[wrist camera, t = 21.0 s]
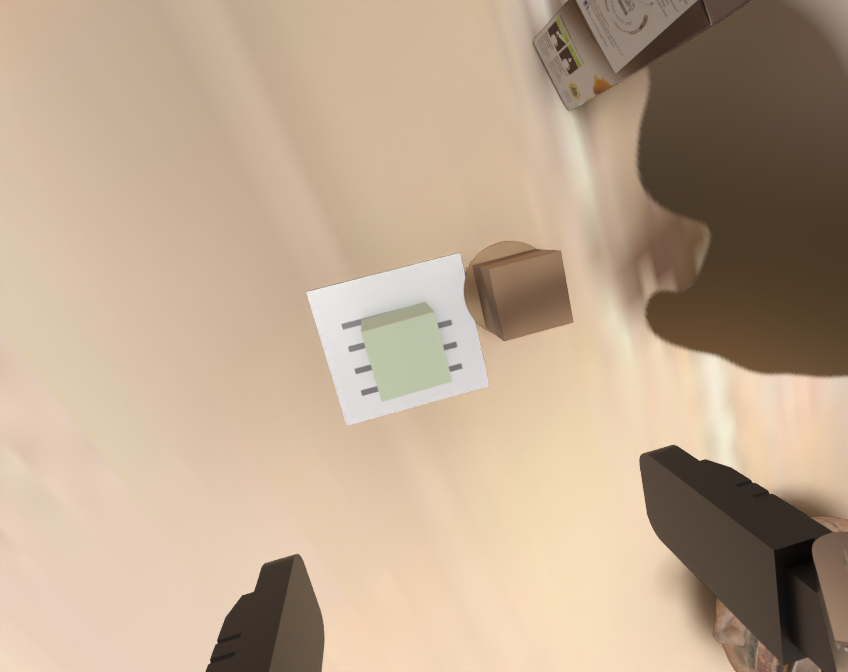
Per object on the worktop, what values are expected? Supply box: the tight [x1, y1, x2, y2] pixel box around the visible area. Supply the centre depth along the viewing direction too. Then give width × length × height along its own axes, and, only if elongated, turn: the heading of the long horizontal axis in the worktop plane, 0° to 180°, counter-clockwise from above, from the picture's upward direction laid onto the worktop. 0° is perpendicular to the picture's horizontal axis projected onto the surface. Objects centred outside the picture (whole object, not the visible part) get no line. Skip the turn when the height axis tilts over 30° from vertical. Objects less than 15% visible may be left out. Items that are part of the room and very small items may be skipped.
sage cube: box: [361, 302, 452, 402], centre depth 37 cm, size 6×6×6 cm
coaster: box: [464, 241, 535, 332], centre depth 41 cm, size 8×8×1 cm
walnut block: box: [472, 249, 573, 341], centre depth 38 cm, size 6×6×6 cm
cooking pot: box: [713, 516, 848, 672], centre depth 44 cm, size 25×19×12 cm
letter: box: [306, 253, 489, 426], centre depth 40 cm, size 12×13×1 cm
